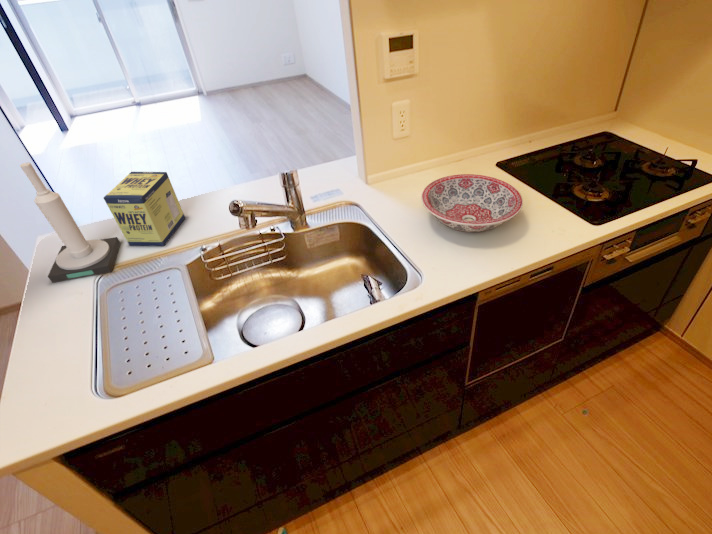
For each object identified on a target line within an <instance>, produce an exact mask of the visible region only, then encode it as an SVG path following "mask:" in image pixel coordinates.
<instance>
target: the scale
mask: <svg viewBox="0 0 712 534" xmlns="http://www.w3.org/2000/svg"><path fill="white" fill-rule="evenodd" d="M86 241H87V242H88V243H89V244H90V246H91V248H92V252H91V253H90V254H89V255H87V256H85V257H82V258H74V257H72V256H71V255H70V254H69V252H68V249H67V247H66V246H65V245H61V247H60V250H59V251H58V254H57V256H56V258H55V260H54V262H53V264H52V266H51V268H50V270H49V273H48V275H47V277H48V279H49V281H50V282H51V283H52V284H53V283H59V282H66V281H69V280H75V279H76V280H77V279H80V278H87V277H93V276H97V275H103V274H109V273H112V272H113V269H114V267H115V263H116V259H117V256H118V253H119V249H120V246H121V242H120V239H119V238H118V236H115V237H108V238H103V239H88V240H86Z"/></svg>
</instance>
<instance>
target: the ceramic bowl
mask: <svg viewBox="0 0 712 534" xmlns="http://www.w3.org/2000/svg"><path fill="white" fill-rule="evenodd" d="M421 203H422V205H423V207H424V208H425V209H426V211H428V212H429V213H430V214H431V215H433V216H434V217H435V218H436V219H437V220H438V221H439V222H440V223H442V224H443V225H445V226H446V227H448V228H450V229H453V230H456V231H459V232H466V233H477V232H478V233H481V232H486V231H490V230H493V229H494V228H497V227H500V226H501V225H503V224H504V223H505V222H507V221H509V220H511V219H513V218H514V217H516V216H517V215H518V214H519V213H520V212H521V210H522V208H523V203H524V202H523V197H522V195H521V193H520V192H519V190H517V188H515V186H513V185H511V184H510V183H508V182H506V181H504V180H501V179H498V178H495V177H492V176H488V175H482V174H471V173H468V174H467V173H462V174H461V173H460V174H452V175H448V176H443V177H440V178H438V179H435V180H433V181H432V182H430V183H429V184H428V185H426V186H425V188H424V189H423V191H422V192H421ZM466 219H473V220H466Z"/></svg>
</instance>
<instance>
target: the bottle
mask: <svg viewBox="0 0 712 534" xmlns="http://www.w3.org/2000/svg"><path fill="white" fill-rule="evenodd" d="M19 167H20V168H21V169H22V171H23V173H24V174H25V175H26V177H27V179H28V180H29V182H30V183H31V185H32V186H33V188H34V189H35V191H36V196H35V198H34V199H33V200H34V201H33V202H34V203H35V205H36V206H37V208H38V209H39V210H40V212H41V213H42V215H43V216H44V218H45V219H46V221H47V222H48V224H49V225H50V226H51V227H52V229H53V231H54V232H55V233H56V234H57V236H58V238H59V239H60V240H61V242H62V243H63V244H64V246H66V247H67V249H68V252H69V254H70V255H71V256H72V257H74V258H82V257H85V256H87V255H89V254H90V253H91V252H92V248H91V246H90V244H89V243H88V242H87V240H86V238H85V236H84V235H83V232H82V231H81V229H80V228H79V226H78V224H77V223H76V221H75V219H74V217H73V216H72V213H71V212H70V211H69V209H68V207H67V206H66V204H65V202H64V200H63V199H62V197H61V195H60V193H58V192H54V191H51V190H50V189H49V188H47V187H46V186H45V184H44V182H43V181H42V180H41V178H40V176H39V175H38V173H37V171H36V169H35V168H34V166H33V164H32V163H31V162H24V163H21V164H20V165H19Z"/></svg>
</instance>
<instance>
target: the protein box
mask: <svg viewBox="0 0 712 534" xmlns="http://www.w3.org/2000/svg"><path fill="white" fill-rule="evenodd" d="M103 200H104V202H105V203H106V205H107V207H108V209H109V211H110V213H111V215H112V216H113V218H114V221H115V222H116V224H117V225H118V228H119V229H120V231H121V233H122V235H123V237H124V238H125V240H126V242H127V244H128V246H130V247H131V246H133V247H134V246H136V247H137V246H139V247H140V246H141V247H142V246H143V247H165V246H166V244H167V243H168V242H169V240H170V239H171V237H172V236H173V235H174V234H175V232H176V231H177V229H179V227H180V225H181V224H183V222H184V220H185V219H186V216H185V214H184V211H183V209H182V207H181V204H180V201H179V199H178V197H177V194H176V192H175V190H174V187H173V185H172V182H171V180H170V177H169V174H168V173H167V171H131V172H129V173H128V175H126V176H125V177H124V178H123V179H122V180H121V181H120V182H119V183H118V184H117V185H115V187H113V188H112V189H111V190H110V191H109V192H108V193H107V194H106V195H104V196H103Z"/></svg>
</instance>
